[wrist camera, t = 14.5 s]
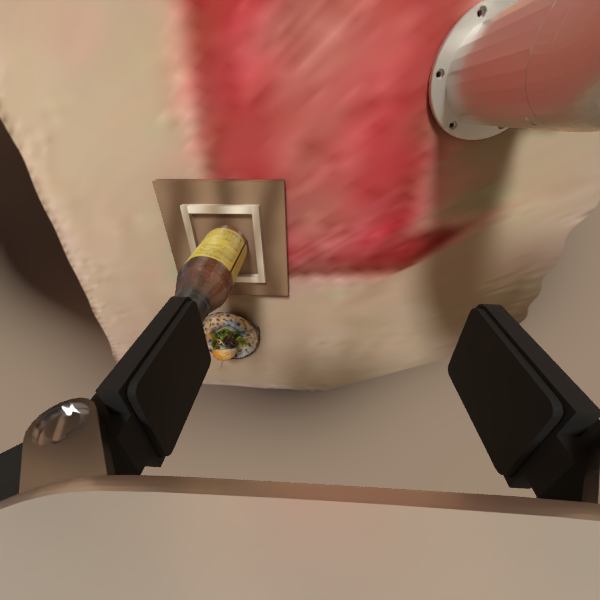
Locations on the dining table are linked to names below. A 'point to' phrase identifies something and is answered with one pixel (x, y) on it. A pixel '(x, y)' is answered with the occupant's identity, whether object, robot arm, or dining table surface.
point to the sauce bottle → (212, 269)
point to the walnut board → (235, 212)
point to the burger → (230, 336)
